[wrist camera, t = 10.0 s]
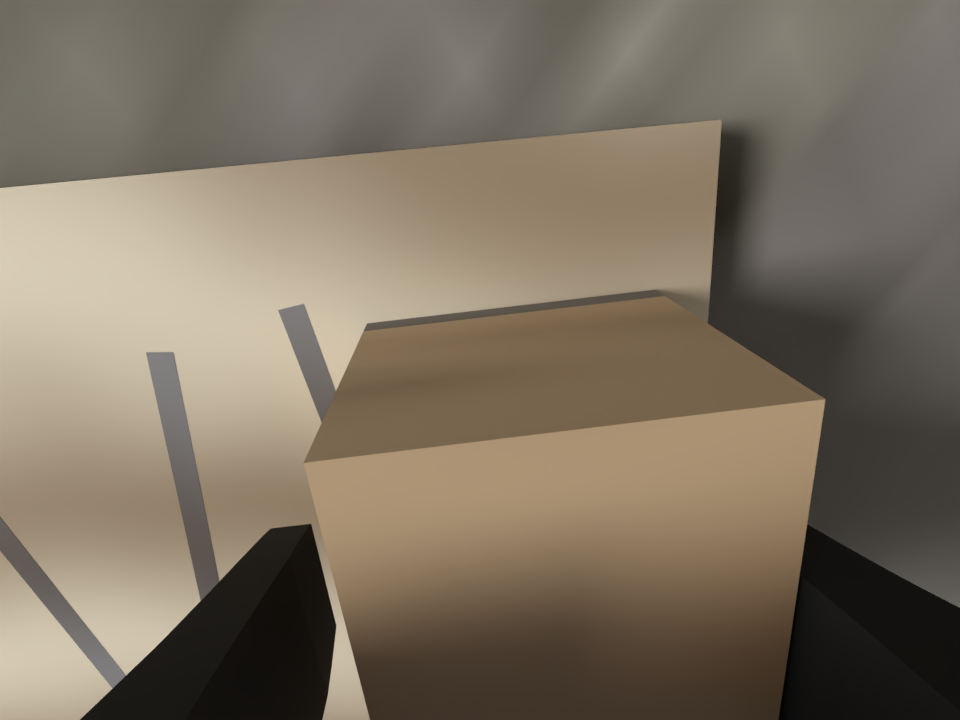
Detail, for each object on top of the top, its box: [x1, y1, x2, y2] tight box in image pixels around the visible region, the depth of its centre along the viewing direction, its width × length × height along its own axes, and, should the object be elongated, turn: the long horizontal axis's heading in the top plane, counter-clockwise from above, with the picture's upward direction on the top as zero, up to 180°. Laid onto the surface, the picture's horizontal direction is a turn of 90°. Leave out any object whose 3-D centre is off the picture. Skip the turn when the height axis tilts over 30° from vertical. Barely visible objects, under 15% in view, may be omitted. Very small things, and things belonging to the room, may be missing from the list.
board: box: [0, 120, 722, 720], centre depth 10 cm, size 12×18×1 cm, turn 95°
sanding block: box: [304, 290, 825, 720], centre depth 8 cm, size 7×4×4 cm, turn 6°
